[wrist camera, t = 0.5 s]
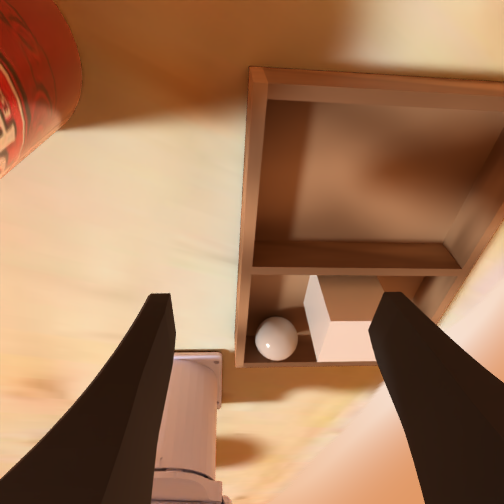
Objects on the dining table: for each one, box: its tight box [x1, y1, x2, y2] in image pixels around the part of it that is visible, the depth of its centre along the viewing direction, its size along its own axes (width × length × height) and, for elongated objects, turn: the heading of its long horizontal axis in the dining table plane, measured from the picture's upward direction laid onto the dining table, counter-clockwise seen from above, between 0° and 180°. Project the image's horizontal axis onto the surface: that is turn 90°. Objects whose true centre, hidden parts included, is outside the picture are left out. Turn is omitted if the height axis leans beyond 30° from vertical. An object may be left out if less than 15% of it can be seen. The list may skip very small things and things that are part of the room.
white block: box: [304, 275, 384, 362], centre depth 22 cm, size 4×4×5 cm
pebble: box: [255, 316, 298, 361], centre depth 25 cm, size 3×3×3 cm
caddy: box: [235, 66, 504, 368], centre depth 21 cm, size 20×14×3 cm
